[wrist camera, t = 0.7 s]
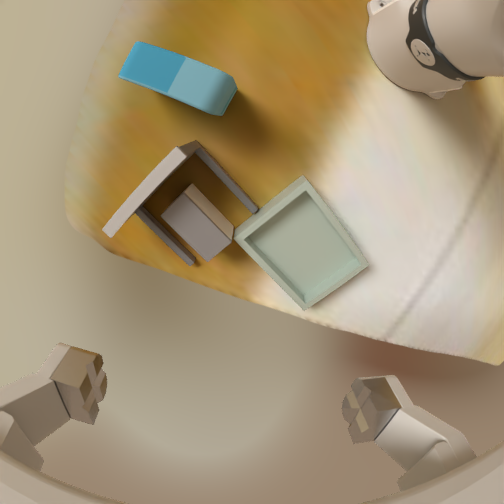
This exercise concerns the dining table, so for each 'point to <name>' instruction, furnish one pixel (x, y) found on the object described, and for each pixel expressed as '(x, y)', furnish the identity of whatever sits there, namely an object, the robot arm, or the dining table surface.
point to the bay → (152, 185)
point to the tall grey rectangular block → (199, 223)
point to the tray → (301, 244)
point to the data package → (179, 78)
